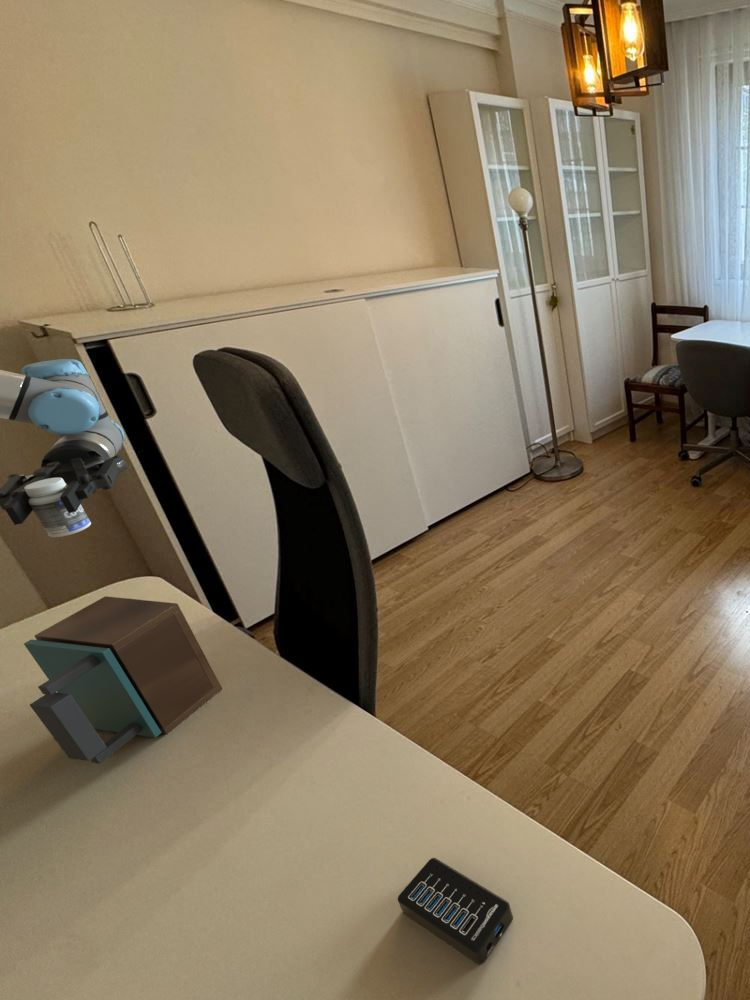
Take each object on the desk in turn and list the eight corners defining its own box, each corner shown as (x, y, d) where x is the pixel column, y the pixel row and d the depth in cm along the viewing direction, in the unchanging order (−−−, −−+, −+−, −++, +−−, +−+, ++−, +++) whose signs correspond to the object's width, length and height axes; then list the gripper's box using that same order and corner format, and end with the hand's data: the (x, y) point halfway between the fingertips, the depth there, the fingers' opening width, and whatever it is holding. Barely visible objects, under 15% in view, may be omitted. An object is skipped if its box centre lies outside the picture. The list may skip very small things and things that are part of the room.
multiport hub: (437, 868, 60) (432, 855, 59) (515, 916, 56) (511, 903, 55) (401, 911, 56) (395, 898, 55) (481, 966, 52) (476, 953, 51)
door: (26, 767, 71) (-43, 680, 64) (88, 722, 77) (31, 639, 70) (104, 779, 69) (41, 691, 63) (161, 732, 75) (109, 648, 69)
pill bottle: (81, 534, 87) (53, 486, 83) (41, 540, 85) (11, 492, 81) (98, 519, 91) (73, 473, 87) (60, 525, 89) (32, 479, 85)
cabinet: (94, 724, 77) (33, 635, 71) (155, 680, 85) (105, 596, 78) (167, 734, 76) (111, 644, 69) (222, 688, 83) (177, 603, 76)
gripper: (156, 464, 105) (135, 513, 88) (16, 492, 95) (-38, 552, 78) (138, 428, 102) (113, 471, 85) (-8, 452, 92) (-70, 506, 75)
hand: (41, 510), depth 81 cm, fingers closed on pill bottle, 5 cm apart
